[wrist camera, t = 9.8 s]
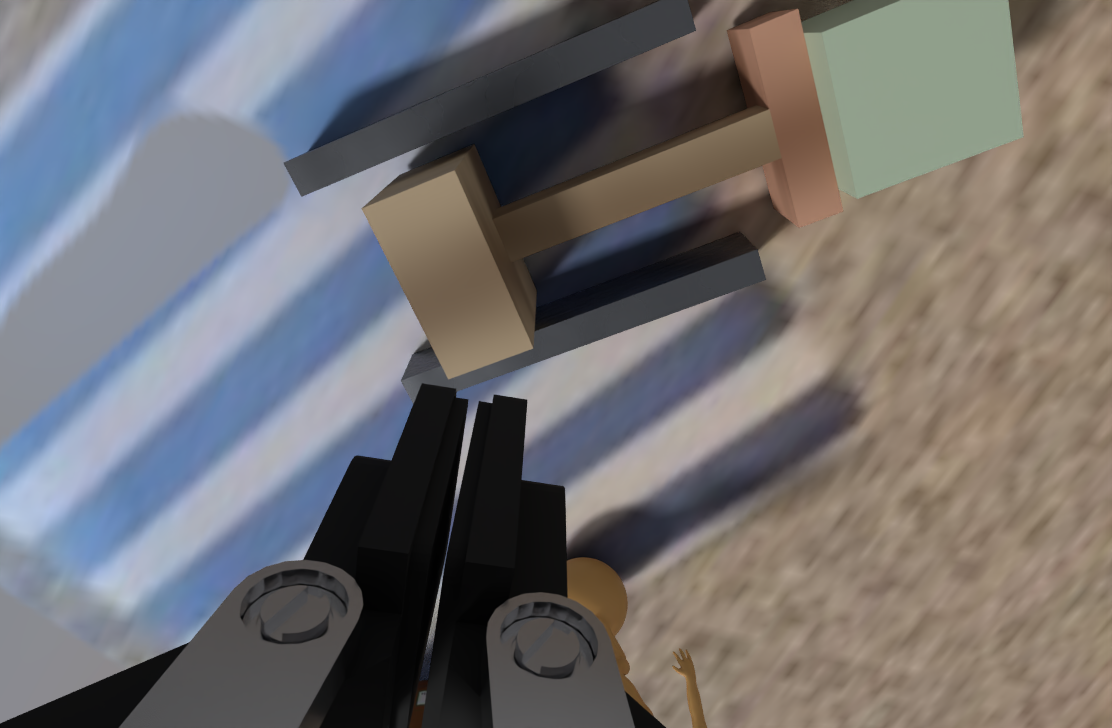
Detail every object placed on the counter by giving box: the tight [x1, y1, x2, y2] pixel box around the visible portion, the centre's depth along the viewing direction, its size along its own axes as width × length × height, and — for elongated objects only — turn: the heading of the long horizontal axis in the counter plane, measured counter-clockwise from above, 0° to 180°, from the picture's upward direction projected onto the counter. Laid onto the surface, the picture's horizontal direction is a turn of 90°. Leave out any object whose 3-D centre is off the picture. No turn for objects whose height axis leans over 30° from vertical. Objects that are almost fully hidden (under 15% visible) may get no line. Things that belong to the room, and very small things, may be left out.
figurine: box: [567, 557, 707, 728], centre depth 29 cm, size 8×6×12 cm
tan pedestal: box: [362, 9, 843, 379], centre depth 24 cm, size 6×14×6 cm, turn 111°
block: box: [801, 0, 1024, 199], centre depth 23 cm, size 5×5×5 cm
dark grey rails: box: [284, 0, 766, 404], centre depth 26 cm, size 10×14×2 cm
